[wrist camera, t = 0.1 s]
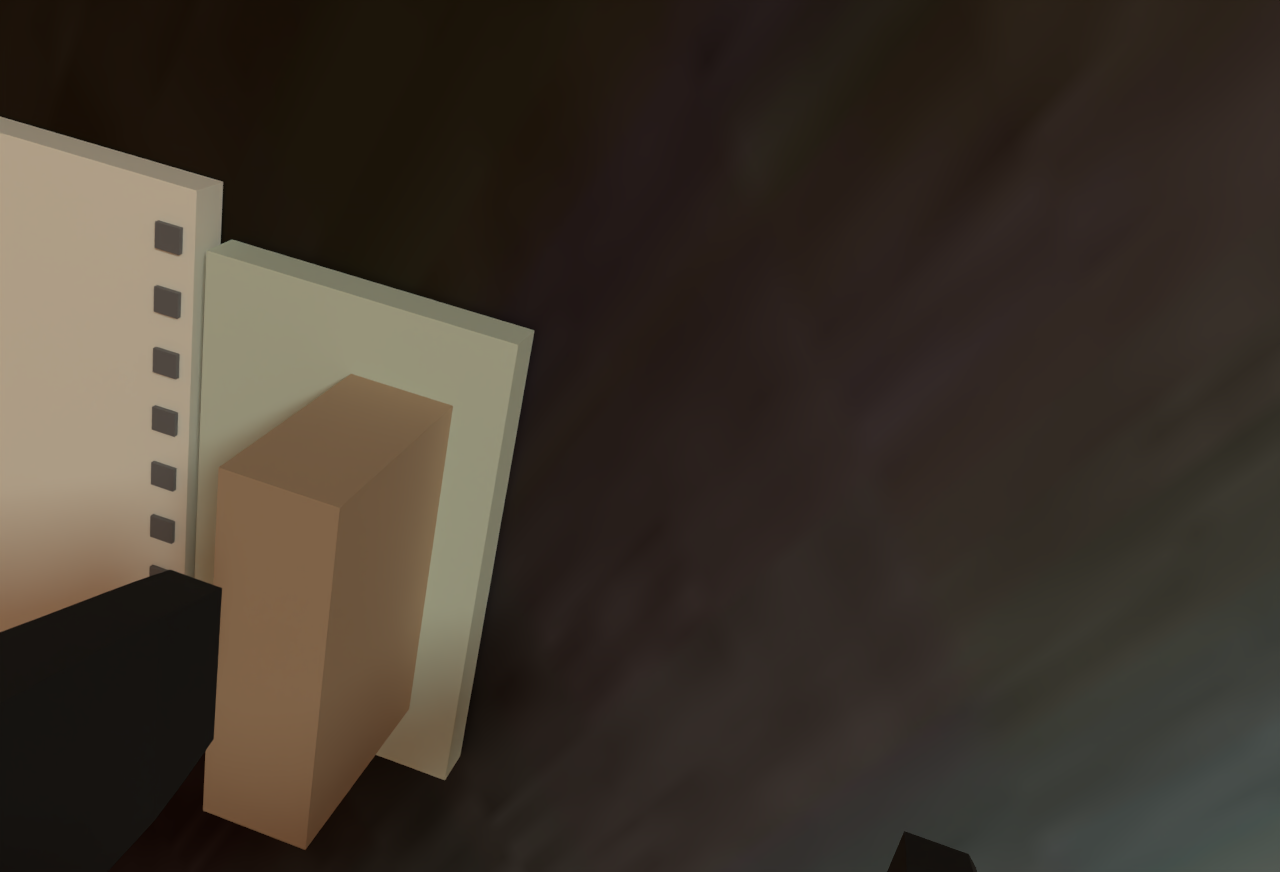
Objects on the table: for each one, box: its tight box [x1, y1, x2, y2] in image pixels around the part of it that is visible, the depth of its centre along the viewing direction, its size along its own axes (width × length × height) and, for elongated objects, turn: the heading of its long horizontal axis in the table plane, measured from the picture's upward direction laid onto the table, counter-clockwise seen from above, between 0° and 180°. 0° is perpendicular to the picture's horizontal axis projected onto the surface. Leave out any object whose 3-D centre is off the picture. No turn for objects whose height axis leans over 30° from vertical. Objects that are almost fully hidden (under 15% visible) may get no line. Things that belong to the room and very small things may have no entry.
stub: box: [195, 240, 534, 850], centre depth 21 cm, size 10×6×5 cm, turn 168°
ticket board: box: [0, 117, 223, 632], centre depth 24 cm, size 12×7×1 cm, turn 168°
